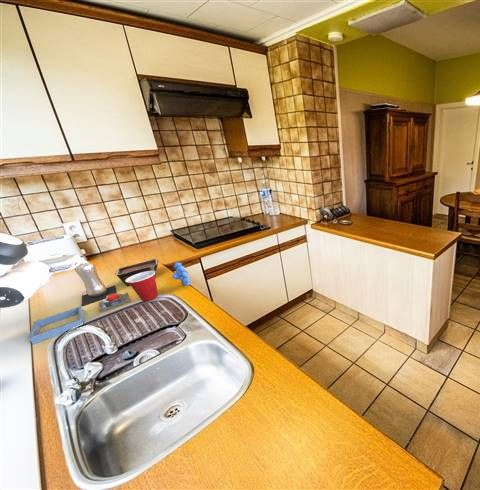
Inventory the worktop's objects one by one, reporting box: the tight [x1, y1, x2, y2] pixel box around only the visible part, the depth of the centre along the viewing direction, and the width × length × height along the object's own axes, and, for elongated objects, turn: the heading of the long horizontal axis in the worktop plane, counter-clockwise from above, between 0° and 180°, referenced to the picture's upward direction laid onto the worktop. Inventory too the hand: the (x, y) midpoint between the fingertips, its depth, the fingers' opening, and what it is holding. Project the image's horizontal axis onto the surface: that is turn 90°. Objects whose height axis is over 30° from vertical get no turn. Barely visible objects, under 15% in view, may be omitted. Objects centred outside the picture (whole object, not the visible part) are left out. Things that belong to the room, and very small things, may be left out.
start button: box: [106, 293, 118, 301], centre depth 118 cm, size 4×4×2 cm
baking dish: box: [114, 258, 159, 287], centre depth 139 cm, size 14×18×10 cm
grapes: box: [171, 261, 191, 287], centre depth 129 cm, size 12×7×12 cm, turn 50°
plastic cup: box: [125, 271, 159, 302], centre depth 120 cm, size 11×11×12 cm
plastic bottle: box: [74, 255, 107, 297], centre depth 122 cm, size 6×7×20 cm
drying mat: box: [81, 284, 118, 307], centre depth 126 cm, size 12×12×1 cm
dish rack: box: [28, 305, 85, 345], centre depth 106 cm, size 14×14×3 cm
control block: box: [98, 292, 131, 314], centre depth 119 cm, size 10×9×3 cm
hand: (49, 259), depth 98 cm, fingers open, 8 cm apart
